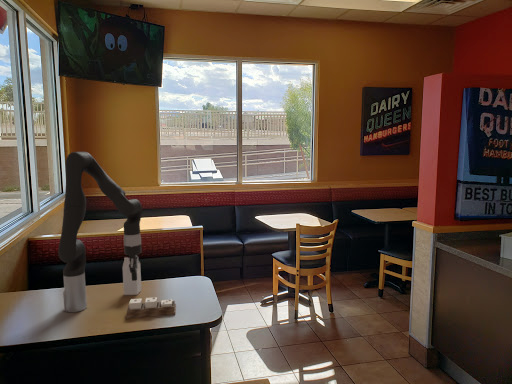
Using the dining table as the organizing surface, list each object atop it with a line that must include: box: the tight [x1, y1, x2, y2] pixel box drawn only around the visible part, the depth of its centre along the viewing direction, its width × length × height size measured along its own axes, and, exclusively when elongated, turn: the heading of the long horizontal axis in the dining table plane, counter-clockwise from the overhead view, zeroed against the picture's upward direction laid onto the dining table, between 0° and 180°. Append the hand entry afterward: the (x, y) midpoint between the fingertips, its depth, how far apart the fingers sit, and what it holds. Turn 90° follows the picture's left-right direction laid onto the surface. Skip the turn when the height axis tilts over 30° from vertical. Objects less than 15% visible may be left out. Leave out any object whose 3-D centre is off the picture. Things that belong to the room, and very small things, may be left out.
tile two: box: [144, 296, 158, 308], centre depth 186 cm, size 5×5×3 cm
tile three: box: [160, 299, 173, 307], centre depth 187 cm, size 5×5×3 cm
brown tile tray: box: [125, 300, 177, 320], centre depth 186 cm, size 22×10×3 cm, turn 100°
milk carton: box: [121, 257, 142, 296], centre depth 210 cm, size 7×7×19 cm
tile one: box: [128, 297, 143, 310], centre depth 185 cm, size 5×5×3 cm
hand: (134, 280), depth 183 cm, fingers closed
